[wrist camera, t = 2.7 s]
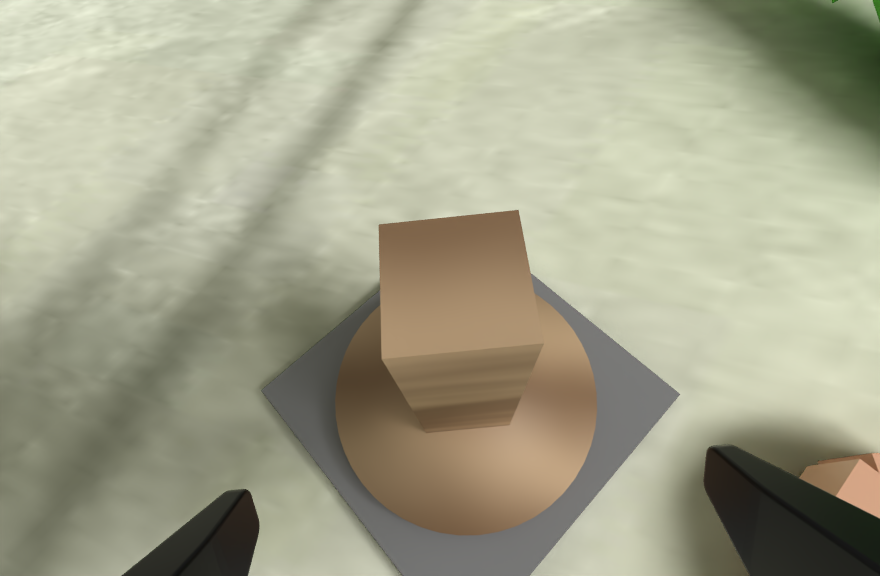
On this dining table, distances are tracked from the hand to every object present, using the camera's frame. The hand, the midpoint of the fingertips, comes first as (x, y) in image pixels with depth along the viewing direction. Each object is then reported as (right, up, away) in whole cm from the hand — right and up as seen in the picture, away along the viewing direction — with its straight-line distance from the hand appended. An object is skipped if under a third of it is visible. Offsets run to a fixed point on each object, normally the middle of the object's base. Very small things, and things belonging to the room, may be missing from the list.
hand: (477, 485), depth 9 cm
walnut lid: (0, -1, +11) cm, 11 cm away
